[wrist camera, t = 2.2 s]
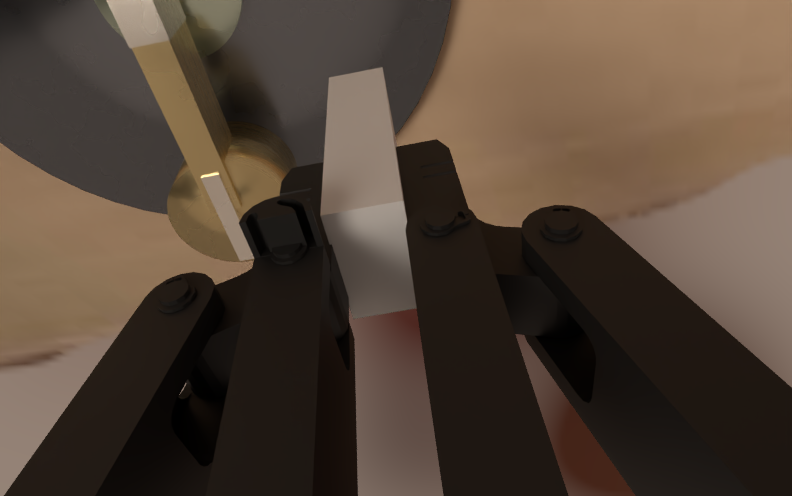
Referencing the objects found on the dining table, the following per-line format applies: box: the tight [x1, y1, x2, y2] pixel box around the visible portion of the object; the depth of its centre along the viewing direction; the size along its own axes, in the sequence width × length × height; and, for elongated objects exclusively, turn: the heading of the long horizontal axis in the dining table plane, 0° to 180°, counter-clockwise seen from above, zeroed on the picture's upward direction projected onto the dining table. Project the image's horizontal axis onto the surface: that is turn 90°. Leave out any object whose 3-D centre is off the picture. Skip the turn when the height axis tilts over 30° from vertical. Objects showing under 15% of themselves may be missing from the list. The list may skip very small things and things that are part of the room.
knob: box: [106, 0, 297, 262], centre depth 23 cm, size 13×6×4 cm, turn 10°
